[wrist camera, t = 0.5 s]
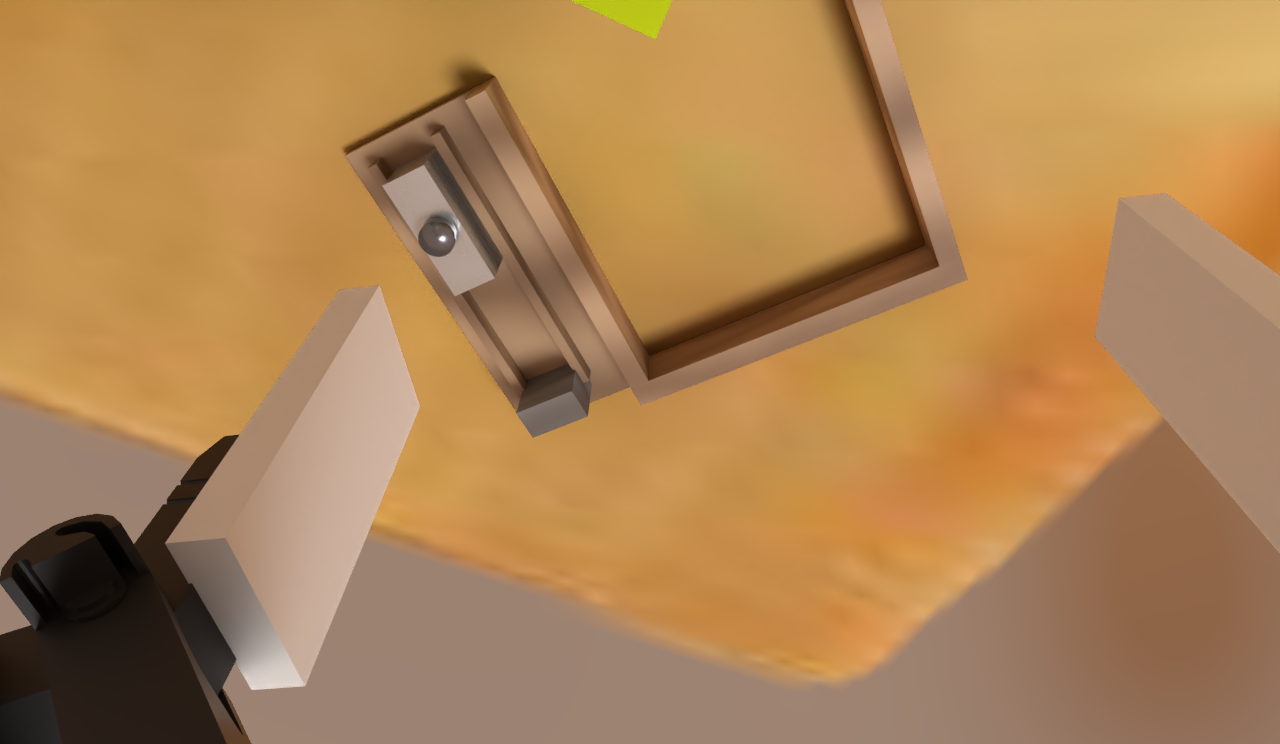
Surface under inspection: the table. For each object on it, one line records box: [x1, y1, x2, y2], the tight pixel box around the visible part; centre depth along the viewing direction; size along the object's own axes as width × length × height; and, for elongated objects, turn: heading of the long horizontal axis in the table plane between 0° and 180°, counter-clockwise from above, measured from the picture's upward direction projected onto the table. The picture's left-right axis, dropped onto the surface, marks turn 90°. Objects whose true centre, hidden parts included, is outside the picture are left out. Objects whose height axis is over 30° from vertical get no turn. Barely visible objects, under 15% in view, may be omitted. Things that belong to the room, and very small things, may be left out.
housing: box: [345, 0, 968, 438], centre depth 40 cm, size 17×24×4 cm
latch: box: [382, 148, 503, 296], centre depth 40 cm, size 6×2×3 cm, turn 26°
